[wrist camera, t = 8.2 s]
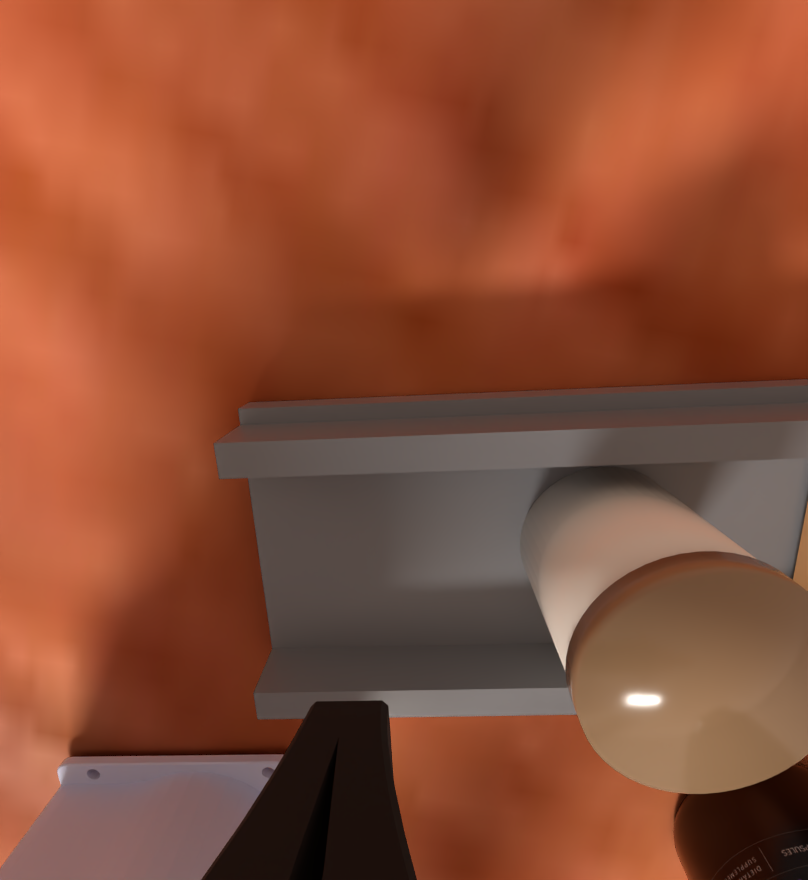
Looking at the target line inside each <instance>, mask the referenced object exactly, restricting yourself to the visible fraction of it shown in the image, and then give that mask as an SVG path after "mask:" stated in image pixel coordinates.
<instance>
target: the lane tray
mask: <svg viewBox="0 0 808 880" xmlns="http://www.w3.org/2000/svg"><path fill="white" fill-rule="evenodd" d="M238 412H239V419H240V426H238V427H237V428H235V429H234V430H232V431H231V432H229V433H228V434H226V435H225V436H224V437H222V438H221V439H219V440H218V441H216V442H215V443H214V449H215V456H216V462H217V468H218V475H219V479H236V478H248V482H249V489H250V496H251V503H252V510H253V517H254V524H255V531H256V538H257V545H258V552H259V559H260V566H261V573H262V580H263V587H264V594H265V602H266V609H267V616H268V623H269V630H270V637H271V644H272V650H271V653H270V655H269V657H268V660H267V662H266V665H265V667H264V669H263V672H262V674H261V676H260V679H259V681H258V683H257V686H256V688H255V690H254V693H253V694H254V700H255V706H256V713H257V719H304V718H305V717H306V715H307V713H308V711H309V709H310V707H311V706H312V705H313V704H314V703H315V702H316V701H372V700H382V701H383V702H385V703H386V704H387V705H388V707H389V717H452V716H520V715H577V713H576V711H575V708H574V705H573V703H572V700H571V698H570V694H569V691H568V687H567V683H566V673H565V670H564V667H563V665H562V662H561V659H560V657H559V654H558V652H557V649H556V647H555V644H554V642H553V639H552V637H551V634H550V632H549V629H548V627H547V624H546V621H545V619H544V616H543V614H542V611H541V609H540V606H539V604H538V601H537V599H536V596H535V594H534V591H533V589H532V586H531V584H530V581H529V578H528V576H527V573H526V571H525V568H524V566H523V562H522V559H521V553H520V536H521V530H522V527H523V524H524V520H525V518H526V516H527V514H528V512H529V510H530V509H531V507H532V505H533V504H534V502H535V501H536V500H537V499H538V498H539V497H540V495H541V494H542V493H543V492H544V491H546V490H547V489H548V488H549V487H550V486H552V485H553V484H554V483H556V482H557V481H559V480H560V479H562V478H564V477H566V476H568V475H570V474H573V473H575V472H578V471H581V470H585V469H589V468H595V467H620V468H625V469H629V470H633V471H636V472H638V473H641V474H643V475H645V476H647V477H649V478H650V479H652V480H653V481H655V482H656V483H657V484H659V485H660V486H661V487H663V488H664V489H665V490H666V491H668V492H669V493H670V494H672V495H673V496H674V497H676V498H677V499H678V500H680V501H681V502H682V503H684V504H685V505H686V506H688V507H689V508H690V509H691V510H693V511H694V512H695V513H697V514H698V515H699V516H701V517H702V518H703V519H705V520H706V521H707V522H709V523H710V524H711V525H712V526H714V527H715V528H716V529H718V530H719V531H720V532H722V533H723V534H724V535H726V536H727V537H728V538H730V539H731V540H732V541H733V542H735V543H736V544H737V545H739V546H740V547H741V548H743V549H744V550H745V551H747V552H748V553H749V554H751V555H752V556H753V557H755V558H756V559H757V560H760V561H763V562H765V563H767V564H769V565H771V566H773V567H775V568H777V569H778V570H780V571H781V572H783V573H784V574H785V575H787V576H788V577H789V578H791V579H792V580H793V577H794V571H795V566H796V561H797V555H798V550H799V545H800V540H801V534H802V529H803V524H804V519H805V513H806V508H807V503H808V379H794V380H770V381H746V382H722V383H699V384H675V385H651V386H627V387H603V388H579V389H555V390H531V391H507V392H483V393H459V394H435V395H411V396H387V397H363V398H339V399H316V400H292V401H268V402H249V403H247V404H245V405H244V406H242V407H240V408H239V409H238Z"/></svg>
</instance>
